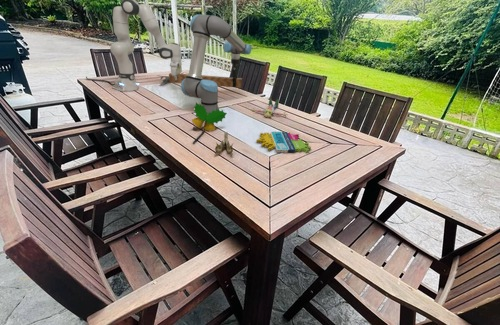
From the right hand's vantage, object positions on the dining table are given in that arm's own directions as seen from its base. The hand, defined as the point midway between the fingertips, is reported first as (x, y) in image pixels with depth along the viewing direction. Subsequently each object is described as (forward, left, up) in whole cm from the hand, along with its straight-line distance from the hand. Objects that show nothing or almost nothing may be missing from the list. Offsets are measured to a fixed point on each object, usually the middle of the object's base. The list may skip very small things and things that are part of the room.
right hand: (234, 86), depth 236 cm
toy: (-52, -17, -8) cm, 56 cm away
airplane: (+50, +55, -8) cm, 75 cm away
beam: (+8, +25, -1) cm, 26 cm away
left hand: (+16, +49, +2) cm, 52 cm away
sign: (-106, -5, -8) cm, 107 cm away
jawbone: (-112, +30, -8) cm, 116 cm away
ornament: (-80, +34, -8) cm, 87 cm away
